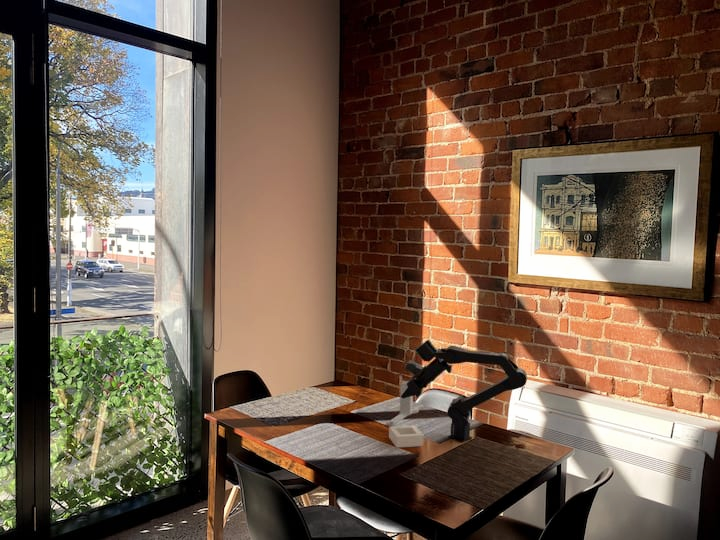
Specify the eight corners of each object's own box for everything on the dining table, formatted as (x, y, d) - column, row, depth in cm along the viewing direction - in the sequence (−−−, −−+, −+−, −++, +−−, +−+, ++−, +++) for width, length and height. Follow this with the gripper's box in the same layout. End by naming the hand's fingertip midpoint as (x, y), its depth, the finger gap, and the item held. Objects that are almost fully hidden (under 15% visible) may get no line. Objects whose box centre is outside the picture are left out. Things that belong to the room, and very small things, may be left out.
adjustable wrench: (392, 428, 229) (392, 423, 229) (378, 424, 232) (378, 420, 232) (420, 411, 250) (420, 407, 250) (407, 408, 253) (407, 404, 253)
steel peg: (412, 412, 226) (413, 381, 225) (409, 415, 222) (411, 384, 221) (402, 410, 227) (403, 380, 226) (399, 414, 223) (400, 383, 222)
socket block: (414, 435, 220) (414, 425, 220) (423, 445, 210) (423, 435, 210) (388, 437, 218) (389, 426, 217) (396, 447, 208) (397, 436, 208)
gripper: (423, 349, 230) (395, 373, 234) (413, 359, 212) (382, 385, 217) (442, 371, 229) (413, 395, 233) (433, 383, 211) (402, 409, 215)
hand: (403, 395), depth 224 cm, fingers closed on steel peg, 4 cm apart
